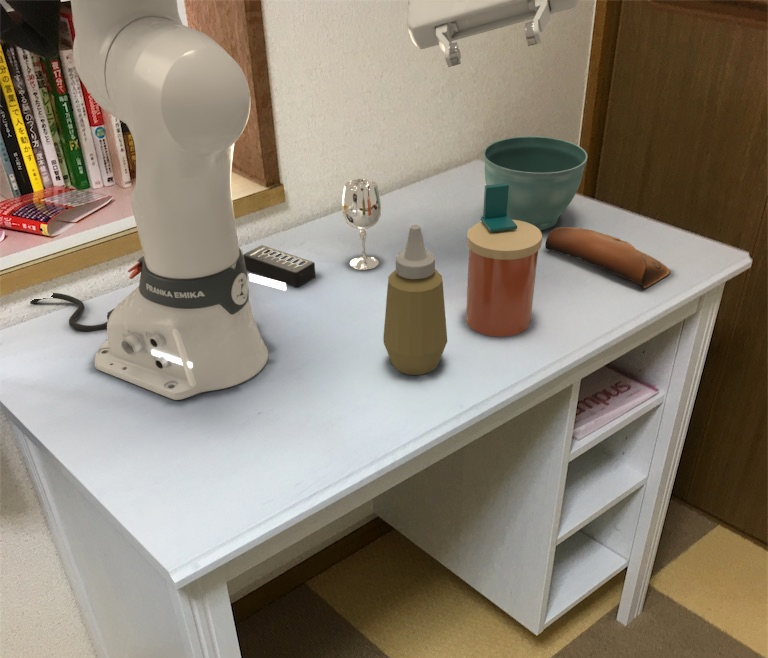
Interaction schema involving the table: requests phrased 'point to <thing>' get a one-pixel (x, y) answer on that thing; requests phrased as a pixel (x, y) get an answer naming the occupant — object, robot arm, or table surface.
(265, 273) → the multiport hub
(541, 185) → the flower pot
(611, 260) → the sunglasses case
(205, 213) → the robot arm
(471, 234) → the cup lid
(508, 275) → the lidded orange canister
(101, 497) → the table surface
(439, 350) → the squeeze bottle
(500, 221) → the teal l-shaped bracket
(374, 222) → the wineglass
